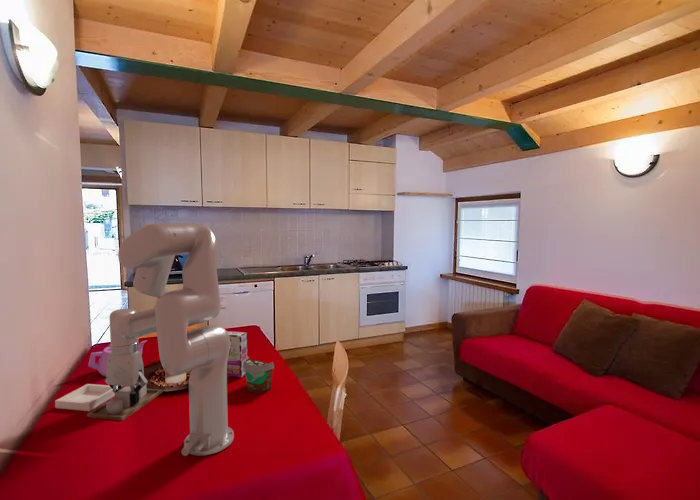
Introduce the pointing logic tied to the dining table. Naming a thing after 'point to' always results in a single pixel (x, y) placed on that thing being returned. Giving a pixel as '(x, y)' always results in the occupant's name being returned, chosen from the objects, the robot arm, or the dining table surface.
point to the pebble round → (114, 406)
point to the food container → (258, 375)
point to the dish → (85, 397)
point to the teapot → (104, 359)
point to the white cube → (142, 391)
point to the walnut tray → (102, 412)
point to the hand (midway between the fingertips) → (127, 402)
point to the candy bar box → (237, 354)
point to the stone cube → (124, 396)
